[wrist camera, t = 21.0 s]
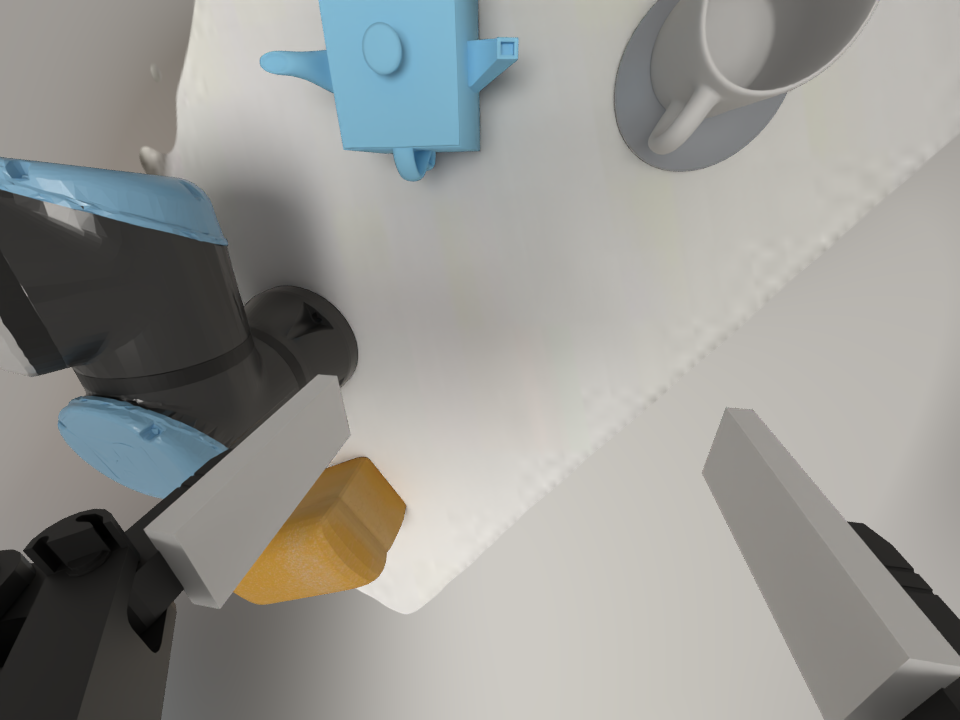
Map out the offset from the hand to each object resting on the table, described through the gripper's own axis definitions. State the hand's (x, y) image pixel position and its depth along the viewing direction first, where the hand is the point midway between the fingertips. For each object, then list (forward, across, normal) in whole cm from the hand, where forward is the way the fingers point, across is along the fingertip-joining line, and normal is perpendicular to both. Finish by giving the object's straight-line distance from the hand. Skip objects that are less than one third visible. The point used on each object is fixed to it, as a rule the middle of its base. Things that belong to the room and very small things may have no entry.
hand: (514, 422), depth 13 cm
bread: (+29, -32, -42) cm, 61 cm away
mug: (+28, +11, +14) cm, 33 cm away
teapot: (+29, -11, +15) cm, 34 cm away
